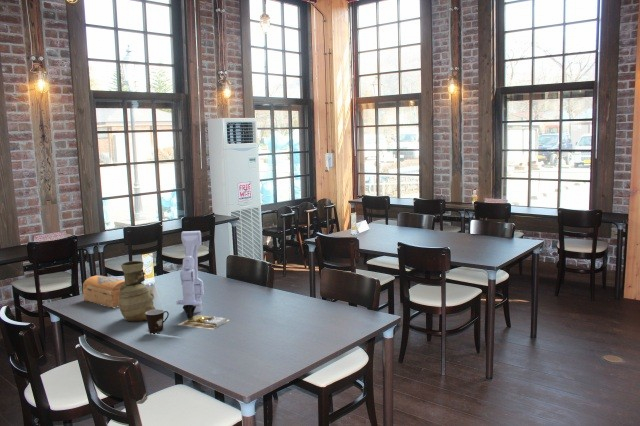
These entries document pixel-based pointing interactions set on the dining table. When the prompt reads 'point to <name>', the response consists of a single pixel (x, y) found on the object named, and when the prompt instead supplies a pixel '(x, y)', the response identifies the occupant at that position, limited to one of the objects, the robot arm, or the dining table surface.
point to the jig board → (200, 324)
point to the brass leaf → (197, 319)
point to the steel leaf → (215, 321)
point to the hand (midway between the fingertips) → (190, 319)
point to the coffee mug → (155, 320)
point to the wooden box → (102, 290)
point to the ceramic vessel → (135, 293)
